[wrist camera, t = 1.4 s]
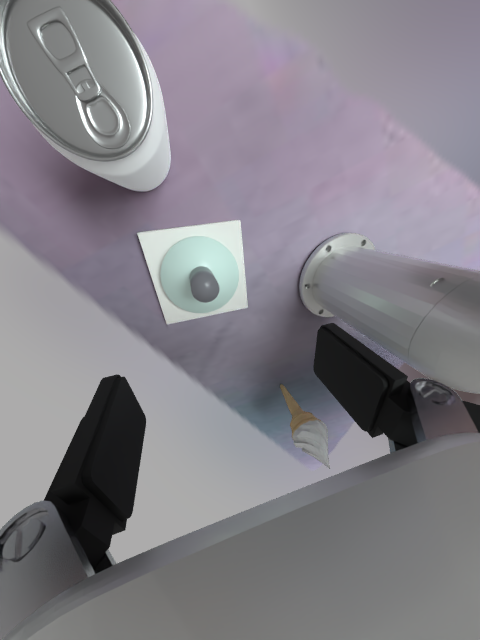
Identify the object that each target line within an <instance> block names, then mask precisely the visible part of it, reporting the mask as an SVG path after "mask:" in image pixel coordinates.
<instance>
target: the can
mask: <svg viewBox="0 0 480 640" xmlns="http://www.w3.org/2000/svg"><path fill="white" fill-rule="evenodd" d="M0 76H1V78H2V80H3V82H4V84H5V86H6V87H7V89H8V91H9V93H10V94H11V96H12V97H13V99H14V100H15V102H16V103H17V105H18V106H19V108H20V109H21V110H22V111H23V113H24V114H25V115H26V116H27V118H28V119H29V120H30V121H31V122H32V124H33V125H34V126H35V128H36V129H37V130H38V131H39V133H40V134H41V135H42V136H43V137H44V138H45V139H46V141H47V142H48V143H49V144H50V145H52V146H53V147H54V148H55V149H56V150H57V151H58V152H59V153H61V154H62V155H63V156H65V157H66V158H67V159H69V160H70V161H72V162H73V163H75V164H76V165H78V166H80V167H82V168H83V169H85V170H87V171H89V172H91V173H94V174H96V175H98V176H100V177H102V178H104V179H107V180H109V181H111V182H113V183H116V184H118V185H120V186H123V187H125V188H128V189H131V190H134V191H150V190H152V189H154V188H156V187H158V186H159V185H160V184H161V183H162V182H163V181H164V180H165V178H166V176H167V174H168V172H169V168H170V162H171V153H170V144H169V136H168V128H167V121H166V114H165V108H164V102H163V97H162V92H161V88H160V85H159V82H158V79H157V76H156V73H155V71H154V68H153V66H152V63H151V61H150V59H149V57H148V55H147V53H146V51H145V50H144V48H143V46H142V44H141V43H140V41H139V40H138V38H137V37H136V35H135V34H134V33H133V31H132V30H131V28H130V26H129V25H128V23H127V22H126V20H125V19H124V17H123V16H122V14H121V13H120V12H119V10H118V9H117V8H116V7H115V5H114V4H113V3H112V2H111V1H110V0H0Z"/></svg>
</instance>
